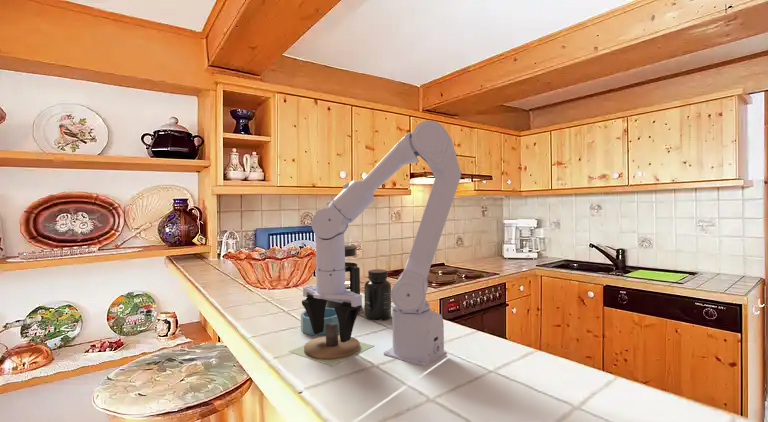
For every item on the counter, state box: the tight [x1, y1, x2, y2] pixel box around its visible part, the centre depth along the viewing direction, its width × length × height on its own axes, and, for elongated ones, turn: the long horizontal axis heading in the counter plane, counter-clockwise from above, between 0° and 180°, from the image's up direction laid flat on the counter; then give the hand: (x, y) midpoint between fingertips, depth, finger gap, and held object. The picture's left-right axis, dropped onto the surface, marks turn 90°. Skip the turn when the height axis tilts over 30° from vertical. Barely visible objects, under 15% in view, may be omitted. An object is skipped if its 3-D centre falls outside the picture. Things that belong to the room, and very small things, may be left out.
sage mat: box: [288, 341, 375, 367], centre depth 78 cm, size 12×12×1 cm
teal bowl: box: [300, 308, 340, 336], centre depth 90 cm, size 9×9×4 cm
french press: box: [326, 244, 361, 309], centre depth 109 cm, size 12×9×23 cm
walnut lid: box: [303, 323, 360, 360], centre depth 78 cm, size 11×11×5 cm
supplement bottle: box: [364, 268, 392, 321], centre depth 99 cm, size 7×7×12 cm
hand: (331, 336), depth 78 cm, fingers open, 7 cm apart
